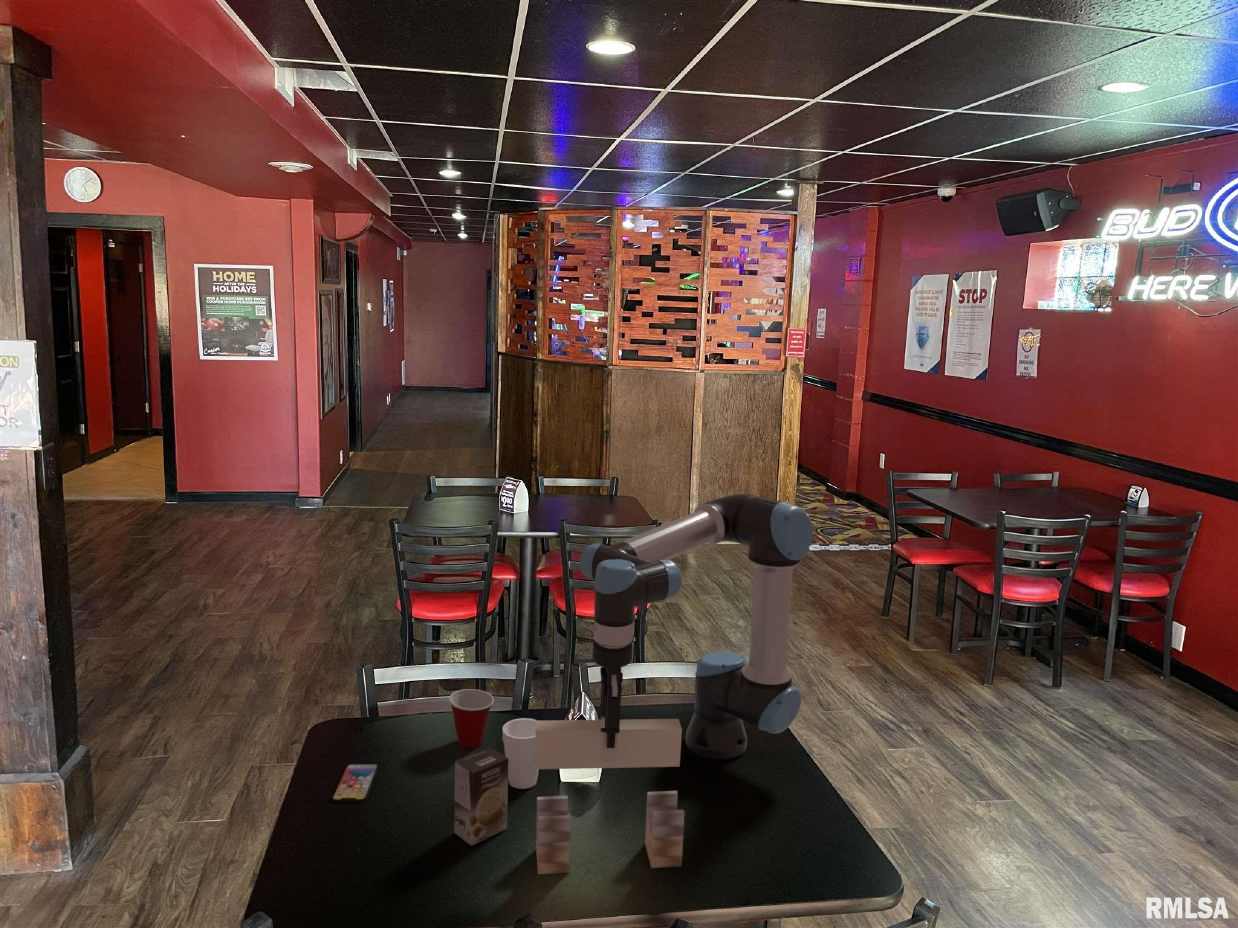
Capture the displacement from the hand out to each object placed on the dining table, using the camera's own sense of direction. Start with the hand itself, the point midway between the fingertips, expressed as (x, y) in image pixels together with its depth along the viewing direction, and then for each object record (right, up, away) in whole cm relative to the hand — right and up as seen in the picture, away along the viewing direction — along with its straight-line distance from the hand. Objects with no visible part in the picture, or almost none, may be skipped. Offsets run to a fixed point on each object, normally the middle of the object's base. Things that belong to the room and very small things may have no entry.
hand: (608, 754), depth 173 cm
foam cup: (-20, -16, +28) cm, 38 cm away
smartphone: (-57, -15, +25) cm, 64 cm away
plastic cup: (-34, -12, +44) cm, 57 cm away
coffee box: (-26, -19, +10) cm, 34 cm away
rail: (0, -2, 0) cm, 2 cm away
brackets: (0, -21, +2) cm, 21 cm away
